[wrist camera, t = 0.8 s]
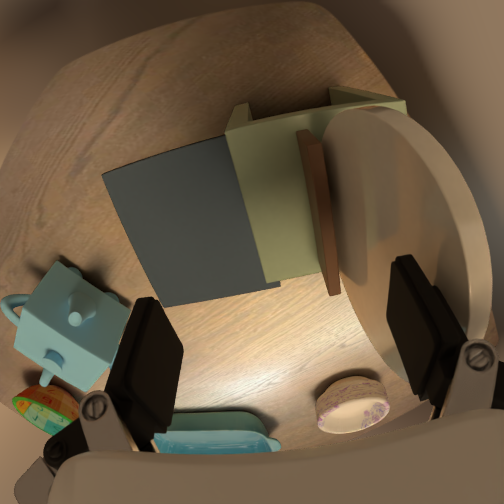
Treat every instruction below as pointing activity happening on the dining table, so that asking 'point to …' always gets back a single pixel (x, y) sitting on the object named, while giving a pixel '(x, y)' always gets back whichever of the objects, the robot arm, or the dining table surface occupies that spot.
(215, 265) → the mat
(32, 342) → the teakettle
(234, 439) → the casserole dish
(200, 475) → the robot arm
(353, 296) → the plate
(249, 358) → the dining table surface
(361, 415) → the paper bowls
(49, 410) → the bowl
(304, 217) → the toaster with toast
